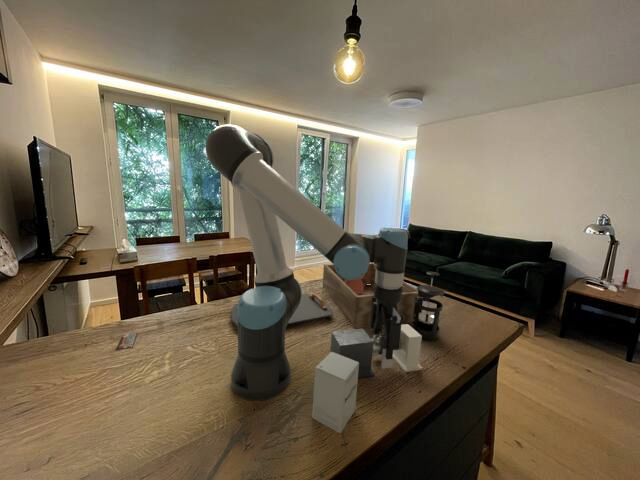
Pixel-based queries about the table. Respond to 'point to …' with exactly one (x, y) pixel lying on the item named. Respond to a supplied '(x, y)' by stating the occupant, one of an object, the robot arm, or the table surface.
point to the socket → (408, 349)
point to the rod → (381, 344)
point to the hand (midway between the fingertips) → (380, 360)
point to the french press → (427, 319)
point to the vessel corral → (363, 297)
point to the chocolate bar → (127, 341)
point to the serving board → (301, 310)
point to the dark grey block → (354, 349)
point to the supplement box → (335, 391)
